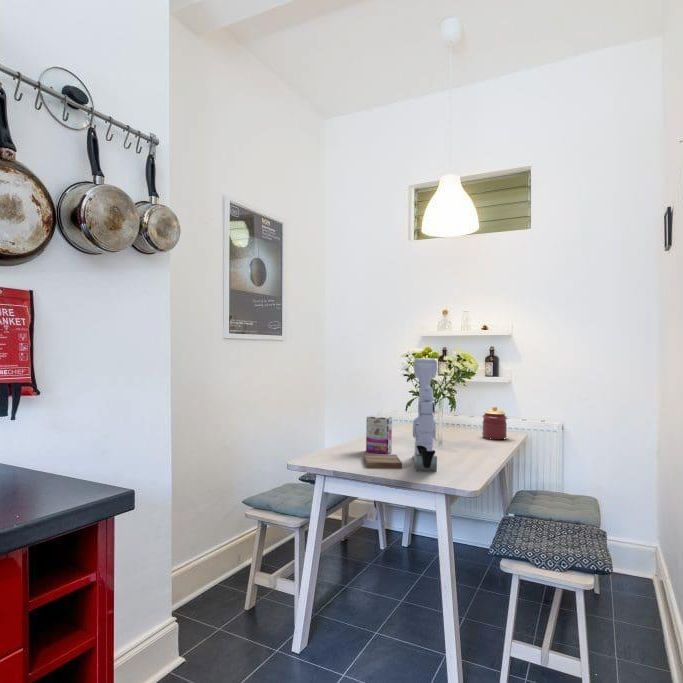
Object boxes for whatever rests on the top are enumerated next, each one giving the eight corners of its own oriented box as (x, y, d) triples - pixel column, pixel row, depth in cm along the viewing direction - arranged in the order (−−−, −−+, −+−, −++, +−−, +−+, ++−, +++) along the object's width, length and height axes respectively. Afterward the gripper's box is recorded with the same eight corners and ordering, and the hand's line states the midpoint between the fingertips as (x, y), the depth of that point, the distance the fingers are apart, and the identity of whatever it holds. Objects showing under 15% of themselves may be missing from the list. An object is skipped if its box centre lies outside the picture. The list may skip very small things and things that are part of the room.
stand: (363, 458, 211) (364, 454, 211) (396, 459, 212) (396, 454, 212) (367, 467, 195) (367, 462, 195) (402, 468, 196) (402, 463, 196)
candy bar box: (392, 452, 225) (392, 417, 225) (387, 454, 221) (388, 418, 221) (369, 449, 230) (370, 415, 230) (365, 451, 226) (366, 416, 226)
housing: (414, 468, 196) (414, 451, 196) (433, 468, 197) (434, 452, 197) (416, 471, 191) (416, 454, 191) (436, 471, 192) (437, 454, 192)
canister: (479, 435, 276) (480, 404, 277) (502, 436, 276) (503, 405, 276) (485, 440, 264) (486, 407, 264) (509, 440, 263) (510, 408, 263)
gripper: (412, 428, 201) (412, 461, 201) (419, 434, 187) (418, 469, 187) (429, 428, 202) (429, 461, 201) (437, 434, 187) (437, 470, 187)
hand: (425, 465), depth 194 cm, fingers open, 6 cm apart
